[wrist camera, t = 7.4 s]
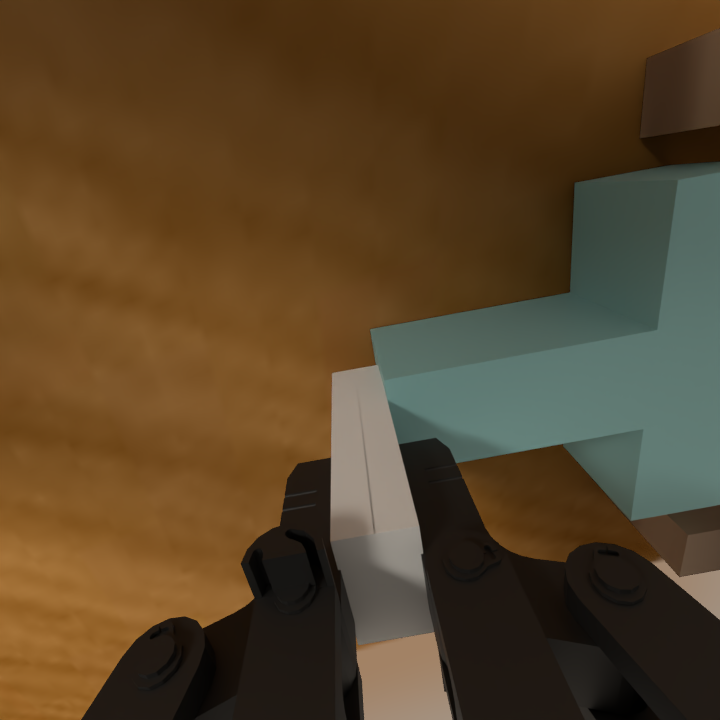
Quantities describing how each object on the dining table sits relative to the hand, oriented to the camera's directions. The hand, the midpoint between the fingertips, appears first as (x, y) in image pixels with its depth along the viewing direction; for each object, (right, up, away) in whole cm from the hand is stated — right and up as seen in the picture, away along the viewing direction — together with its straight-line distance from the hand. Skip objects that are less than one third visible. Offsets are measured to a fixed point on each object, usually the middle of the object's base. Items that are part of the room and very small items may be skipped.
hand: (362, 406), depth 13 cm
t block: (+5, +2, +1) cm, 6 cm away
